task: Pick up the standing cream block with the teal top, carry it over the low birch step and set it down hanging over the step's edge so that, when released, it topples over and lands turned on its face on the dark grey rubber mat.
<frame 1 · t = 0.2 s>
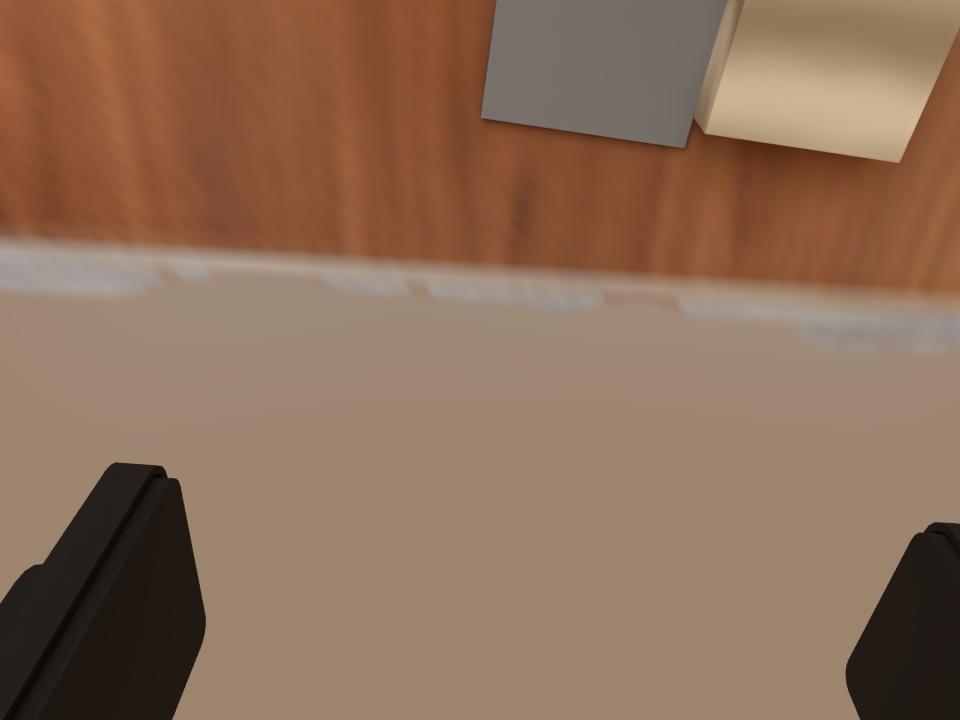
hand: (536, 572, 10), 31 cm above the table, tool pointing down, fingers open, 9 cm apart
birch step: (826, 5, 34), on the table
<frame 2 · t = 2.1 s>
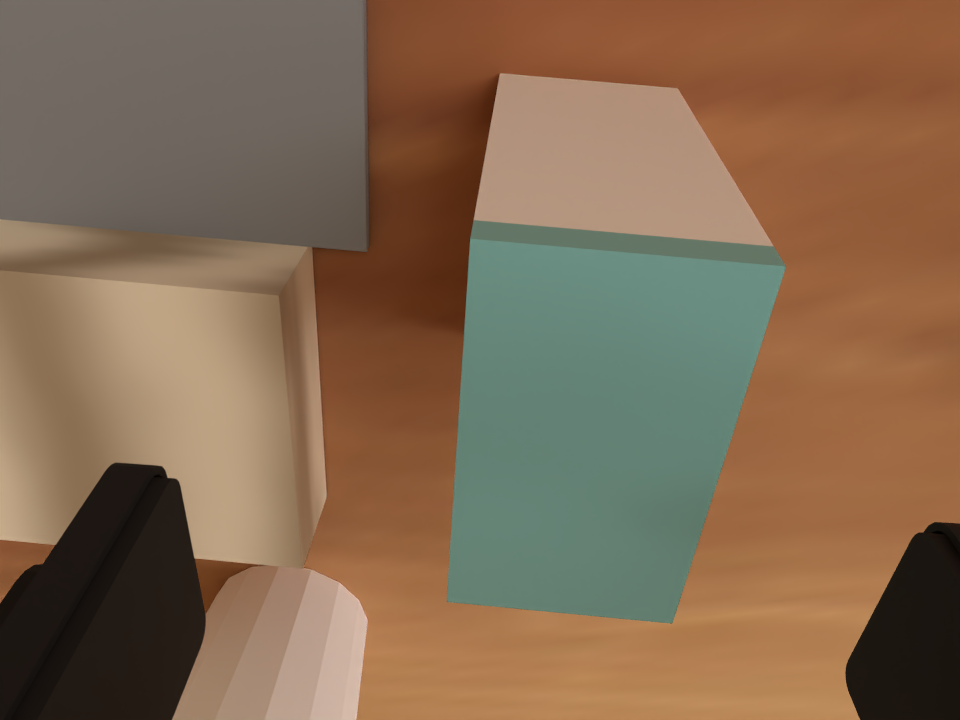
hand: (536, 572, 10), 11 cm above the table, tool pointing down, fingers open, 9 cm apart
grey mat: (55, 12, 17), on the table
pale pink cylinder: (293, 612, 28), on the table
cream block: (568, 225, 19), on the table
birch step: (132, 365, 22), on the table
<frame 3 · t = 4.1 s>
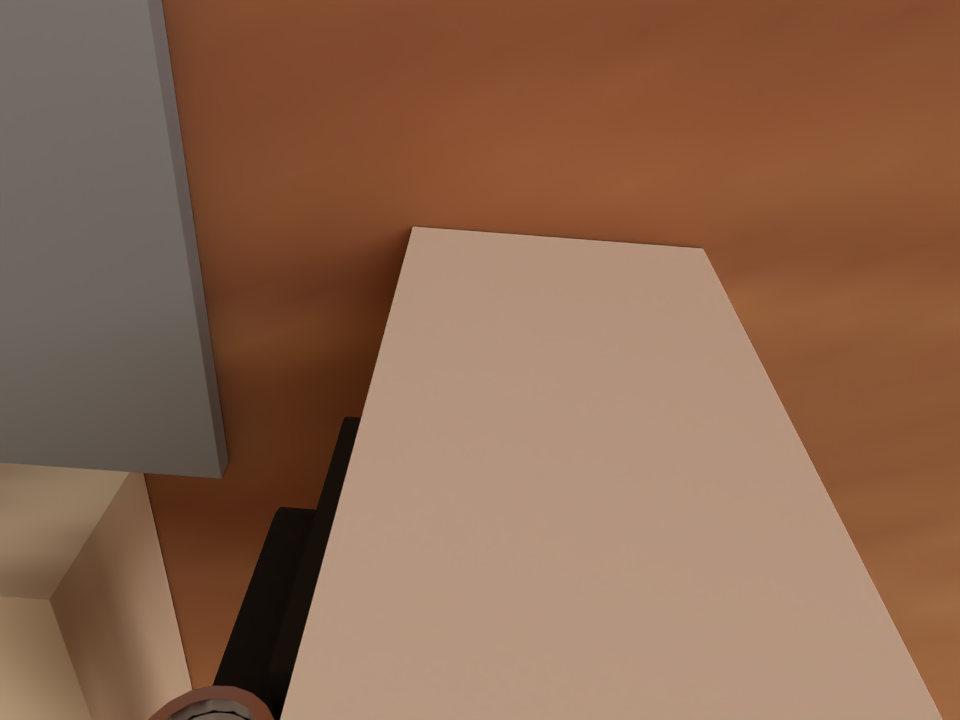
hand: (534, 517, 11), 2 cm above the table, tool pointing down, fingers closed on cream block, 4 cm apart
cream block: (531, 437, 12), on the table, touching gripper
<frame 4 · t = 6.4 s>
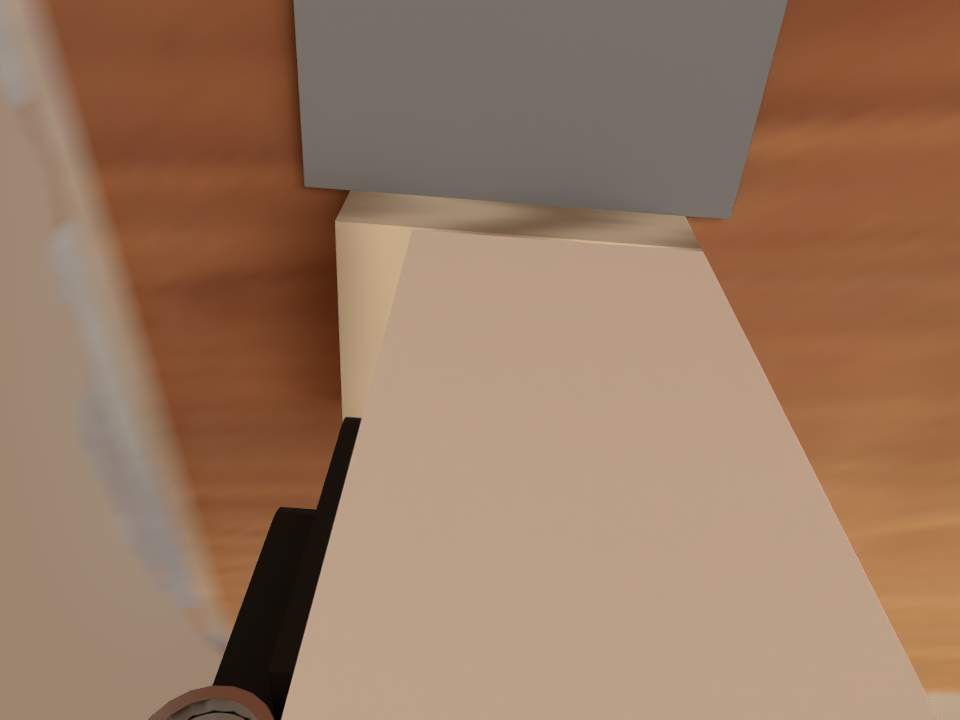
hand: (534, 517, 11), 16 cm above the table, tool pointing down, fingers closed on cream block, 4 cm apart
grey mat: (533, 38, 23), on the table
cream block: (531, 440, 12), point 15 cm above the table, touching gripper
birch step: (506, 316, 28), on the table
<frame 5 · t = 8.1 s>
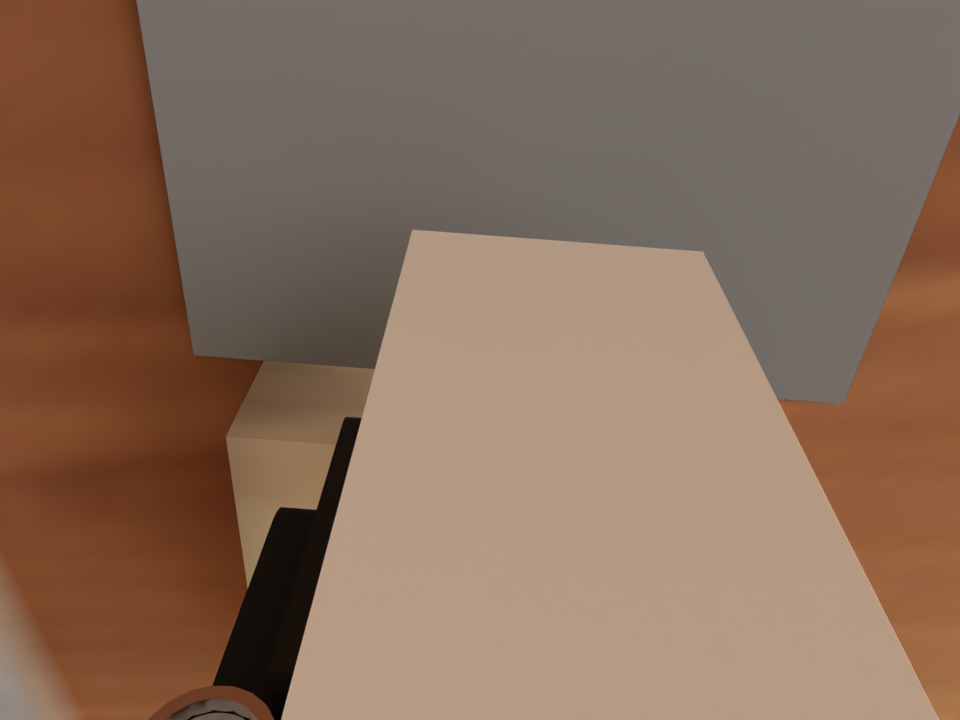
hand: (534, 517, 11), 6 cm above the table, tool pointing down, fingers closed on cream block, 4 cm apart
grey mat: (545, 143, 14), on the table
cream block: (531, 440, 12), point 4 cm above the table, touching gripper
birch step: (502, 518, 19), on the table
when the fingers open (6 cm above the table, at t = 8.9 s): cream block moves 3 cm and tips over, resting on grey mat.
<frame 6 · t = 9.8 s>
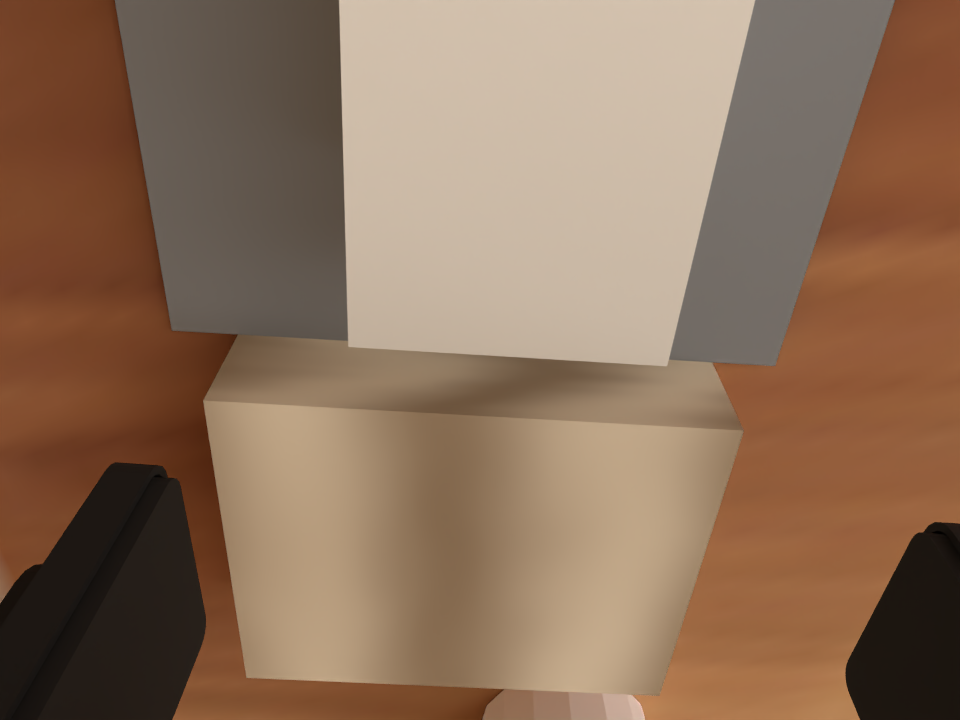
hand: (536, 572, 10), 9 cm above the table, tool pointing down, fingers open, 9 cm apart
grey mat: (493, 126, 15), on the table
pale pink cylinder: (561, 718, 27), on the table
cream block: (502, 242, 13), point 4 cm above the table, tilted 90°, touching grey mat
birch step: (466, 483, 20), on the table
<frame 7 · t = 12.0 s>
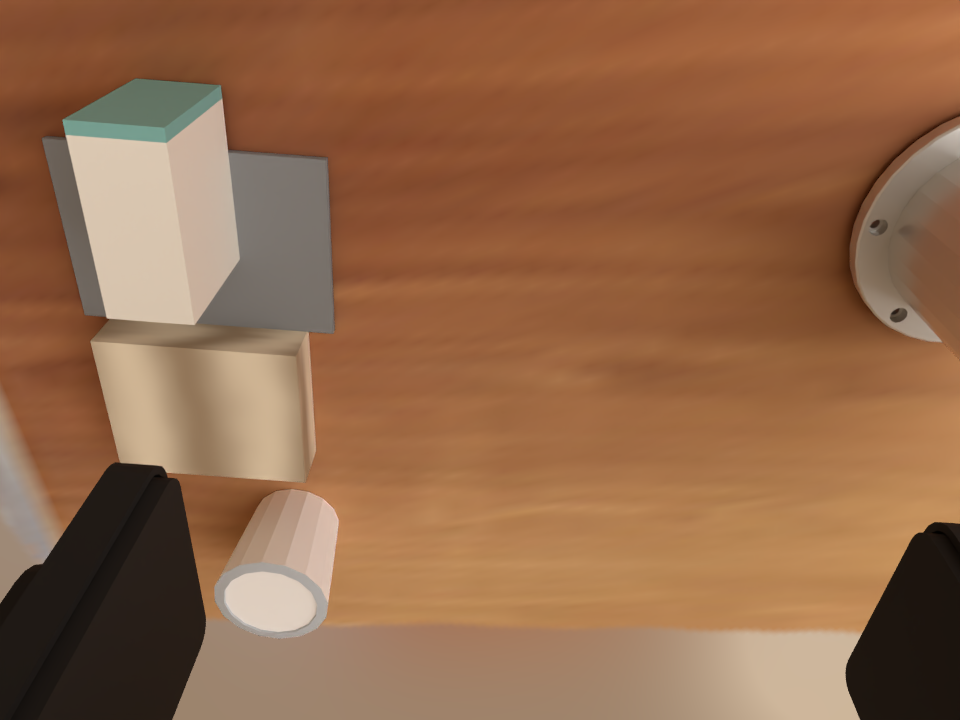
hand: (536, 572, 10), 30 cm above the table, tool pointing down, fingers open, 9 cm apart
grey mat: (200, 239, 41), on the table
pale pink cylinder: (298, 517, 52), on the table
cream block: (178, 286, 38), point 4 cm above the table, tilted 90°, touching grey mat
birch step: (220, 385, 46), on the table
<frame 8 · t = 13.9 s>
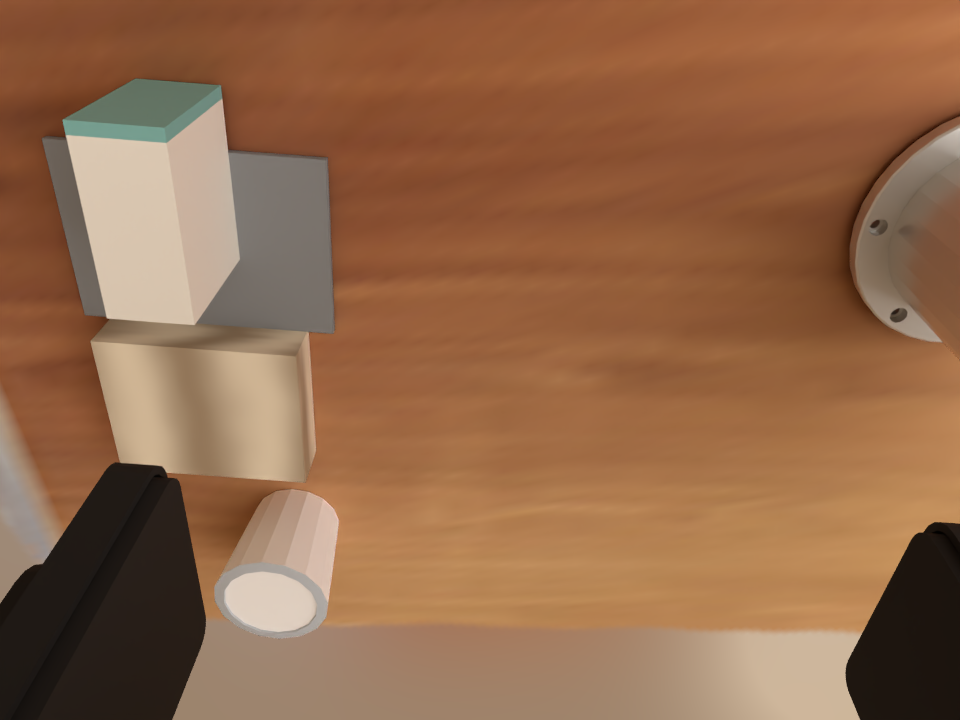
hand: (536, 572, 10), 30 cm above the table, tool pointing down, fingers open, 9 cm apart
grey mat: (200, 239, 41), on the table
pale pink cylinder: (298, 517, 52), on the table
cream block: (178, 286, 38), point 4 cm above the table, tilted 90°, touching grey mat
birch step: (220, 385, 46), on the table
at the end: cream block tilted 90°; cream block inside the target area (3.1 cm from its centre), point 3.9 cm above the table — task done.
